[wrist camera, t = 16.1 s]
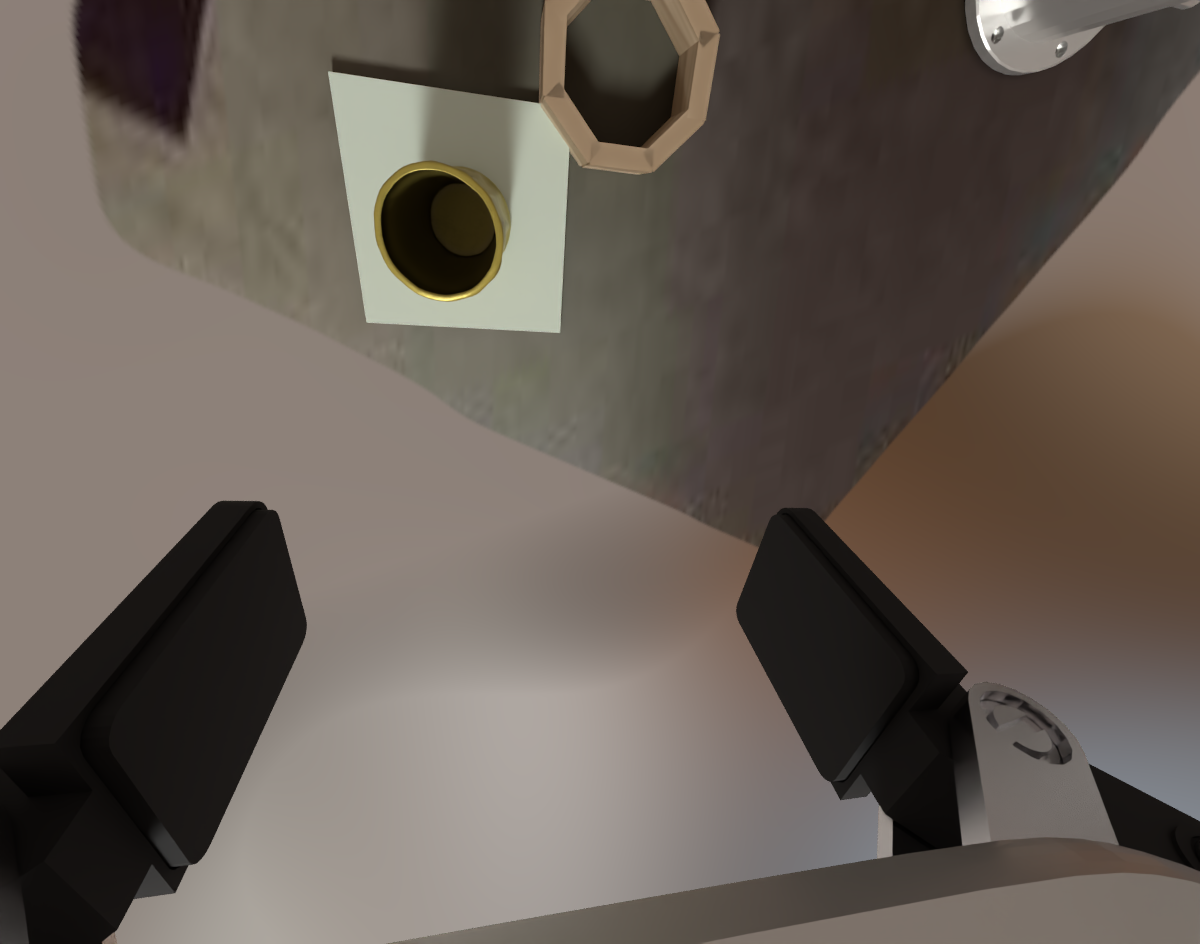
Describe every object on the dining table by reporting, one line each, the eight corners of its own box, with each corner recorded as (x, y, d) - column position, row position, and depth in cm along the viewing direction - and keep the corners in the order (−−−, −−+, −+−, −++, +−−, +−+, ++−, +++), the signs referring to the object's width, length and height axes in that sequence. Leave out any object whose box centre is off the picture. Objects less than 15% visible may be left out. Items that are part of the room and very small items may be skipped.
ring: (708, -15, 28) (732, -40, 25) (678, 179, 33) (695, 178, 30) (542, -52, 26) (547, -83, 23) (537, 161, 31) (541, 158, 28)
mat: (569, 110, 30) (571, 108, 29) (558, 330, 37) (560, 332, 36) (332, 74, 27) (328, 71, 26) (369, 320, 34) (366, 322, 33)
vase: (435, 277, 33) (395, 325, 21) (401, 176, 29) (330, 162, 17) (520, 260, 33) (530, 297, 21) (496, 158, 30) (491, 131, 18)
